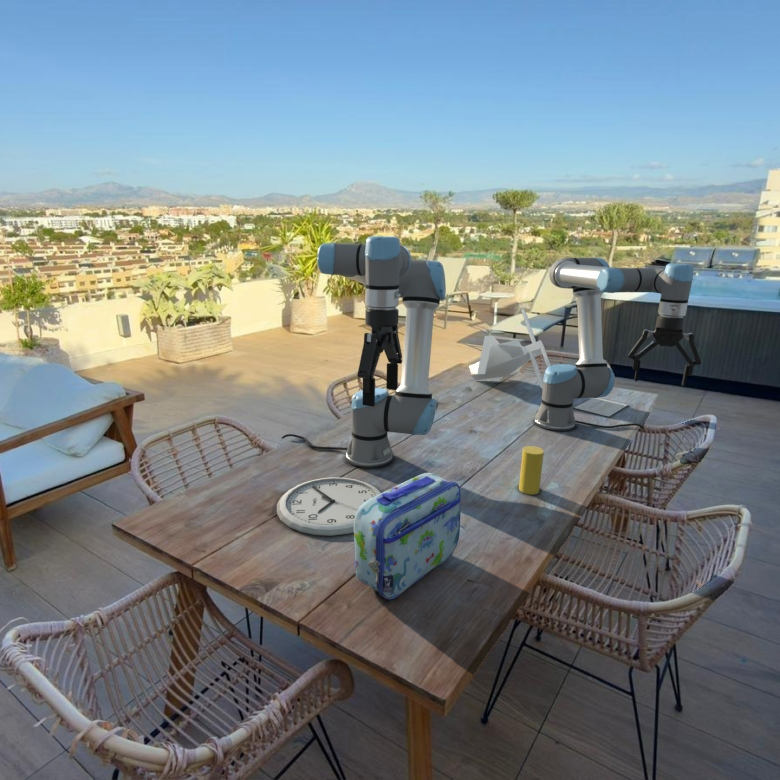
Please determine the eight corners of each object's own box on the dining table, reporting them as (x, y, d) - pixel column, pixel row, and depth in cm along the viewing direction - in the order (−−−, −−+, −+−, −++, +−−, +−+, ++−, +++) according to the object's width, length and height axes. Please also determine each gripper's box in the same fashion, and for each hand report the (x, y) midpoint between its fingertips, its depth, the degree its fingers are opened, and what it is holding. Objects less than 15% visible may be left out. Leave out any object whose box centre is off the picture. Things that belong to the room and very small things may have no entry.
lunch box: (382, 612, 103) (384, 519, 97) (347, 586, 110) (346, 498, 104) (464, 557, 121) (469, 475, 114) (429, 538, 128) (432, 460, 122)
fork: (422, 410, 217) (423, 406, 216) (433, 399, 231) (433, 395, 231) (428, 411, 216) (429, 407, 216) (438, 400, 230) (439, 396, 230)
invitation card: (608, 416, 214) (573, 407, 224) (608, 416, 214) (573, 408, 224) (628, 404, 229) (594, 396, 238) (628, 405, 229) (594, 397, 238)
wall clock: (392, 527, 129) (268, 531, 127) (391, 533, 130) (269, 537, 127) (383, 473, 158) (282, 475, 155) (383, 478, 158) (282, 480, 156)
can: (518, 492, 151) (522, 452, 148) (519, 484, 157) (523, 444, 153) (539, 495, 150) (543, 455, 146) (539, 486, 155) (543, 447, 151)
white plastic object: (490, 422, 261) (470, 399, 236) (471, 348, 283) (451, 320, 258) (563, 398, 249) (550, 371, 224) (537, 323, 271) (522, 291, 246)
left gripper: (374, 316, 105) (373, 415, 112) (416, 302, 127) (414, 385, 134) (341, 313, 108) (342, 410, 115) (388, 299, 130) (387, 381, 137)
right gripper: (627, 314, 160) (616, 381, 166) (720, 321, 151) (706, 391, 157) (626, 311, 167) (616, 375, 173) (716, 317, 158) (702, 384, 164)
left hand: (380, 397), depth 124 cm, fingers open, 13 cm apart
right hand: (659, 382), depth 165 cm, fingers open, 13 cm apart
